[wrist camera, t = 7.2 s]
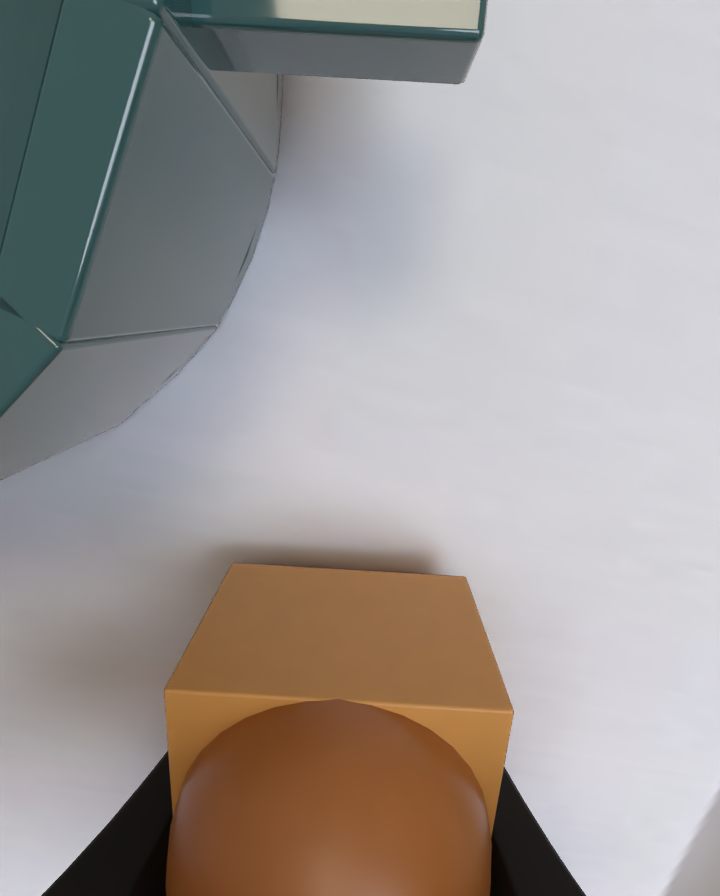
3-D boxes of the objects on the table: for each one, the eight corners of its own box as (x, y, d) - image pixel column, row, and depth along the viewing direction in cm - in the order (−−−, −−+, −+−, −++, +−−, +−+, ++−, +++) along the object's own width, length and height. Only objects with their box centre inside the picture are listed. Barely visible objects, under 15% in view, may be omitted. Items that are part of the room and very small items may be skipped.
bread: (430, 849, 12) (482, 1311, 7) (237, 837, 13) (125, 1288, 7) (466, 575, 10) (590, 917, 4) (232, 561, 10) (55, 884, 5)
